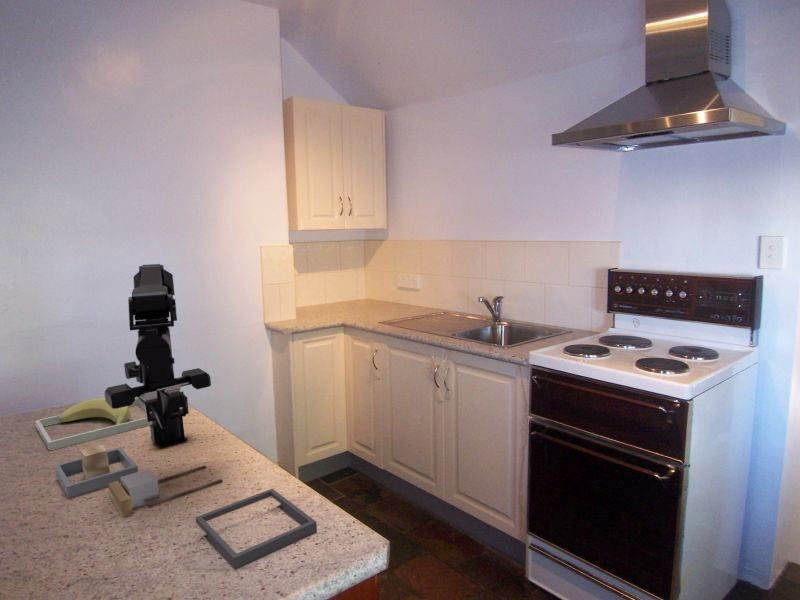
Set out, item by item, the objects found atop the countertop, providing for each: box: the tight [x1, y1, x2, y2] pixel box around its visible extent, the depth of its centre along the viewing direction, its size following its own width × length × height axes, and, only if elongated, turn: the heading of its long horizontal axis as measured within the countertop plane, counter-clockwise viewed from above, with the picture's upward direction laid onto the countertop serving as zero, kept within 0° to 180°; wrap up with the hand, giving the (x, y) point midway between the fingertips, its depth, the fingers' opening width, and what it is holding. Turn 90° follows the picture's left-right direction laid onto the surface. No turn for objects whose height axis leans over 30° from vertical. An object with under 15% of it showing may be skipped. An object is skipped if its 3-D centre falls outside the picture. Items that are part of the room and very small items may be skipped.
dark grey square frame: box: [195, 488, 318, 571], centre depth 95 cm, size 15×16×2 cm
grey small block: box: [120, 468, 161, 510], centre depth 104 cm, size 5×6×4 cm
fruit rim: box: [35, 397, 152, 452], centre depth 146 cm, size 26×20×2 cm
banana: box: [59, 397, 132, 425], centre depth 145 cm, size 14×6×20 cm
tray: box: [54, 447, 139, 499], centre depth 114 cm, size 13×13×4 cm
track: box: [108, 464, 224, 517], centre depth 107 cm, size 21×9×4 cm, turn 130°
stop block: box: [80, 444, 110, 480], centre depth 114 cm, size 4×4×6 cm
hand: (163, 427), depth 112 cm, fingers closed
